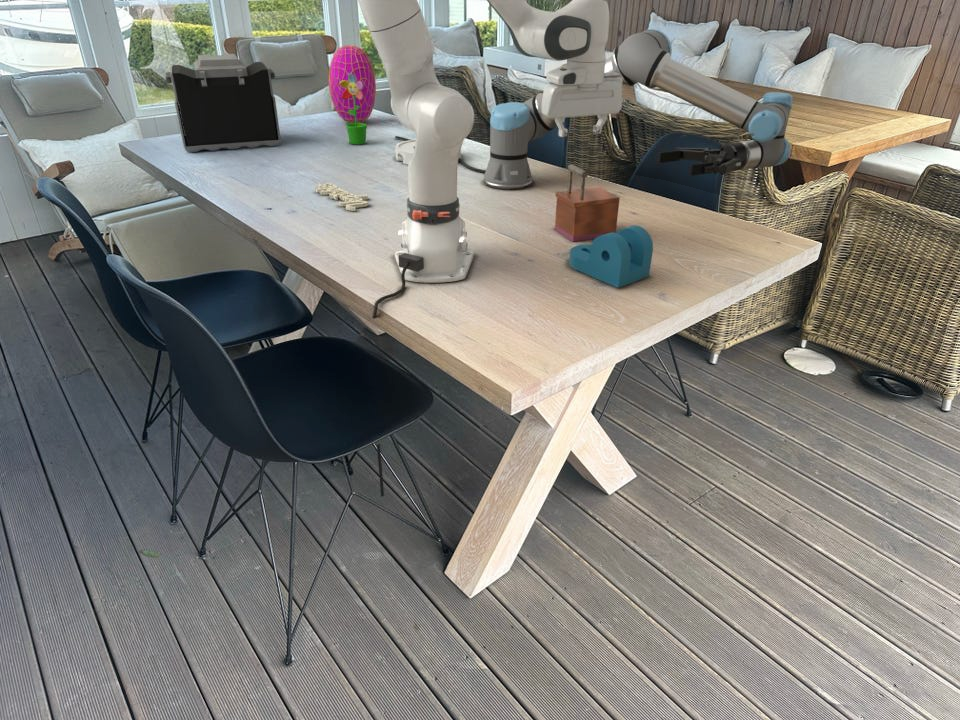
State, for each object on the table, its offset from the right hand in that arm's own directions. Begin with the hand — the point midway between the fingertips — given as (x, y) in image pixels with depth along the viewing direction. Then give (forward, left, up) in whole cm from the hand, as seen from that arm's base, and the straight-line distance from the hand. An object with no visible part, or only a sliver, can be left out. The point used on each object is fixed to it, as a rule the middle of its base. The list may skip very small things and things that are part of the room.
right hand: (674, 163), depth 181 cm
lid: (0, -26, -7) cm, 27 cm away
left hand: (0, -29, +10) cm, 31 cm away
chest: (0, -26, -16) cm, 30 cm away
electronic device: (-133, -101, -16) cm, 168 cm away
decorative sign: (-52, -77, -16) cm, 94 cm away
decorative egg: (-153, -49, -16) cm, 161 cm away
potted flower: (-117, -57, -16) cm, 131 cm away
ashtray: (-87, -39, -16) cm, 96 cm away
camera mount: (+23, -34, -16) cm, 45 cm away
